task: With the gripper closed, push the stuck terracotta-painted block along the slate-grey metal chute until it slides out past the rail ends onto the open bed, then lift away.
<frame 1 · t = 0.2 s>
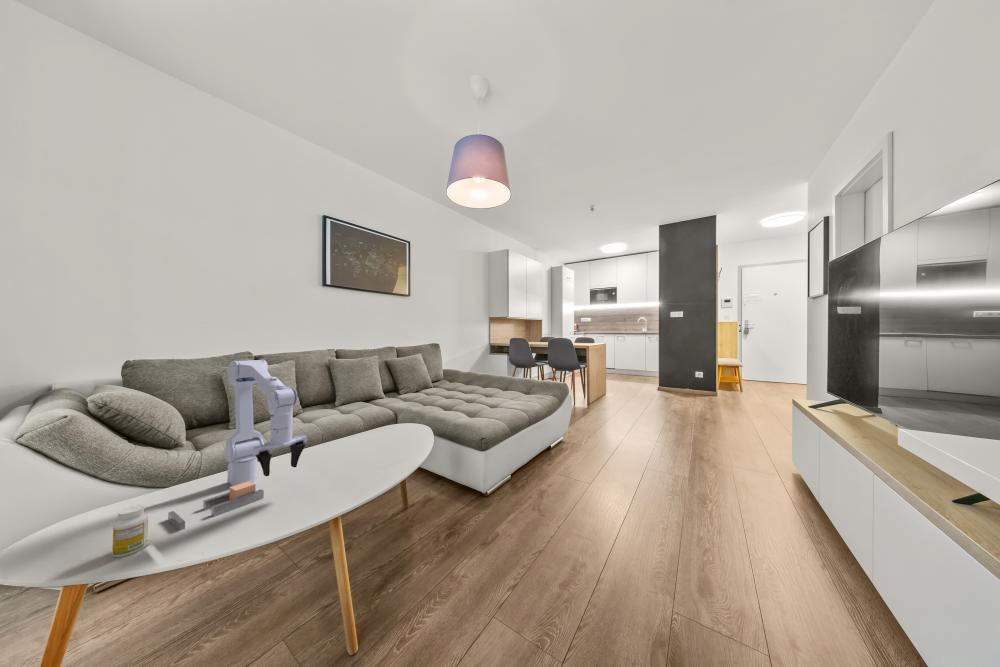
hand: (280, 470, 97), 10 cm above the table, tool pointing down, fingers open, 7 cm apart
block: (242, 493, 96), point 3 cm above the table, slide at 0.0 cm
supplement bottle: (130, 551, 74), on the table
chute: (225, 509, 92), on the table
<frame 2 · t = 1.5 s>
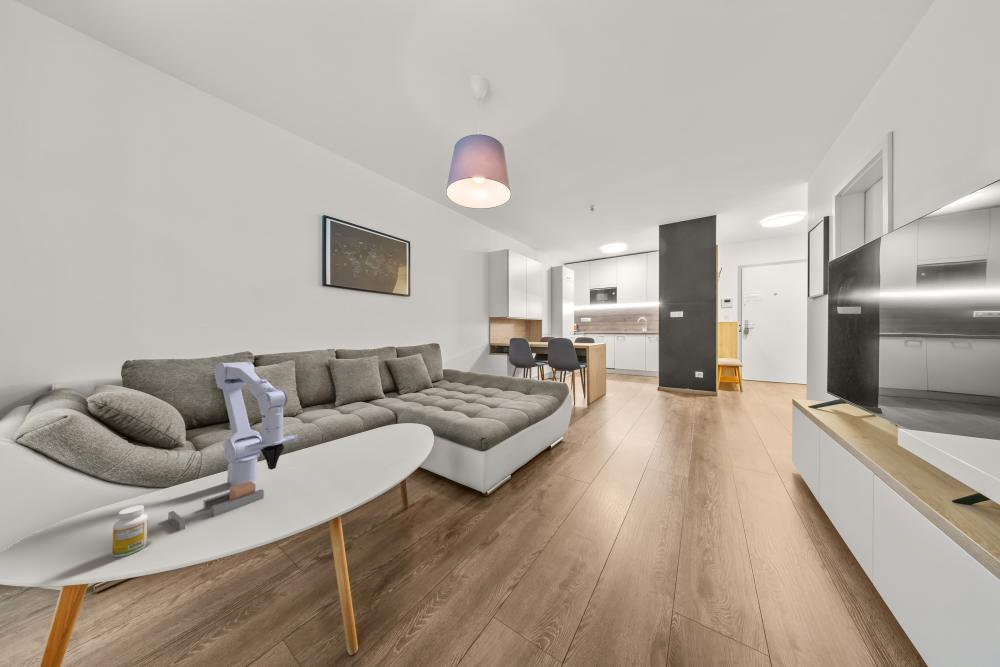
hand: (271, 468, 102), 8 cm above the table, tool pointing down, fingers closed
nothing on the table moved.
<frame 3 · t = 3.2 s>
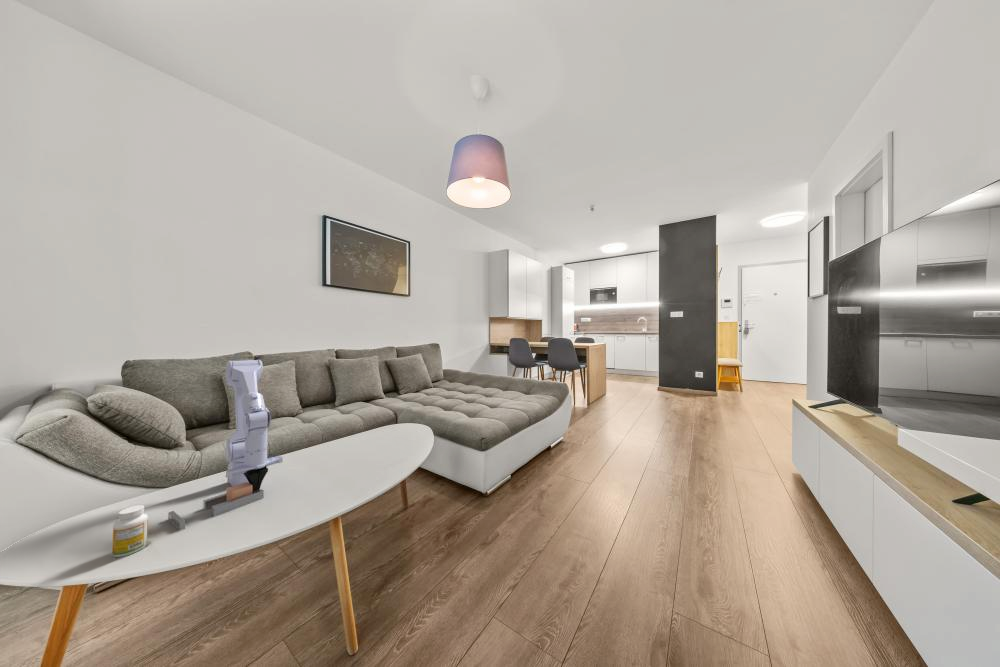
hand: (255, 492, 98), 2 cm above the table, tool pointing down, fingers closed
block: (239, 494, 95), point 3 cm above the table, slide at 0.8 cm, touching gripper
everything else where it was.
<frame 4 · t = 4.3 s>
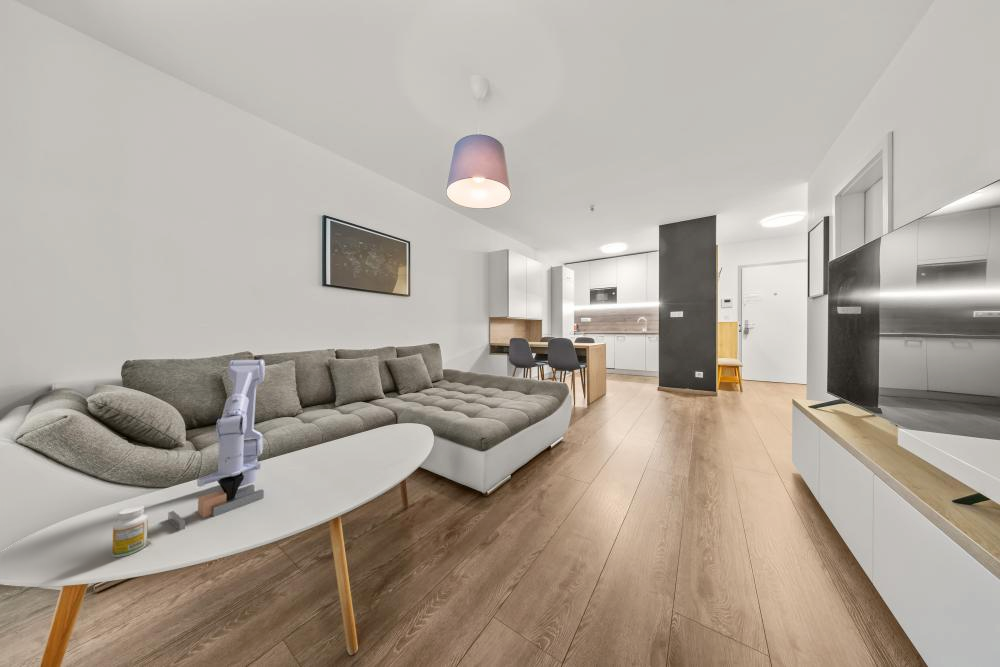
hand: (230, 501, 93), 2 cm above the table, tool pointing down, fingers closed
block: (212, 503, 89), point 3 cm above the table, slide at 7.1 cm, touching gripper
everything else where it was.
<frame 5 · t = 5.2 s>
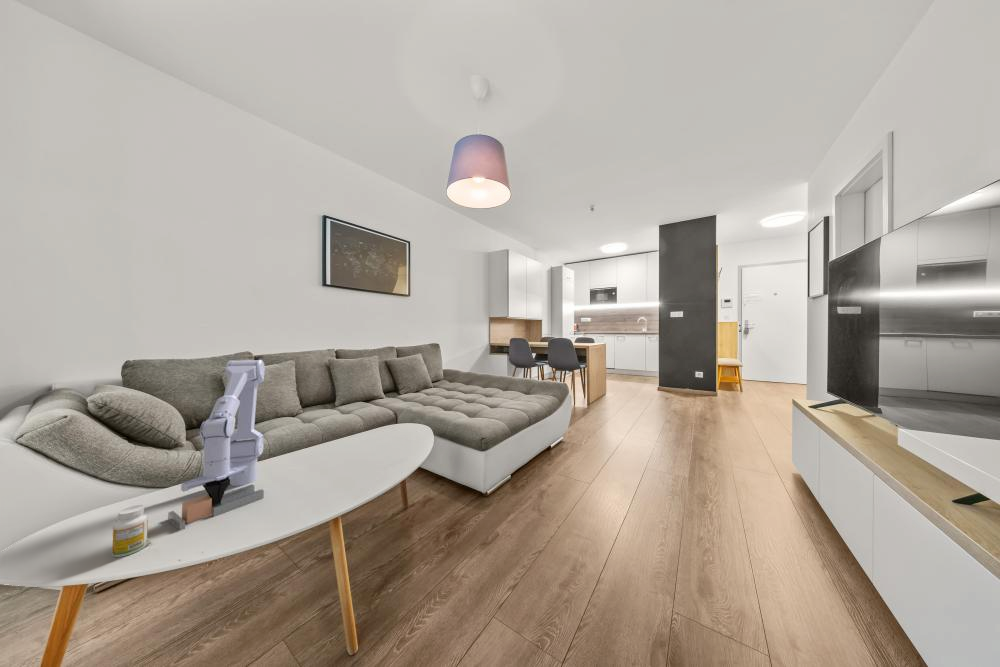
hand: (215, 506, 90), 2 cm above the table, tool pointing down, fingers closed
block: (197, 508, 87), point 3 cm above the table, slide at 10.4 cm, touching gripper
everything else where it was.
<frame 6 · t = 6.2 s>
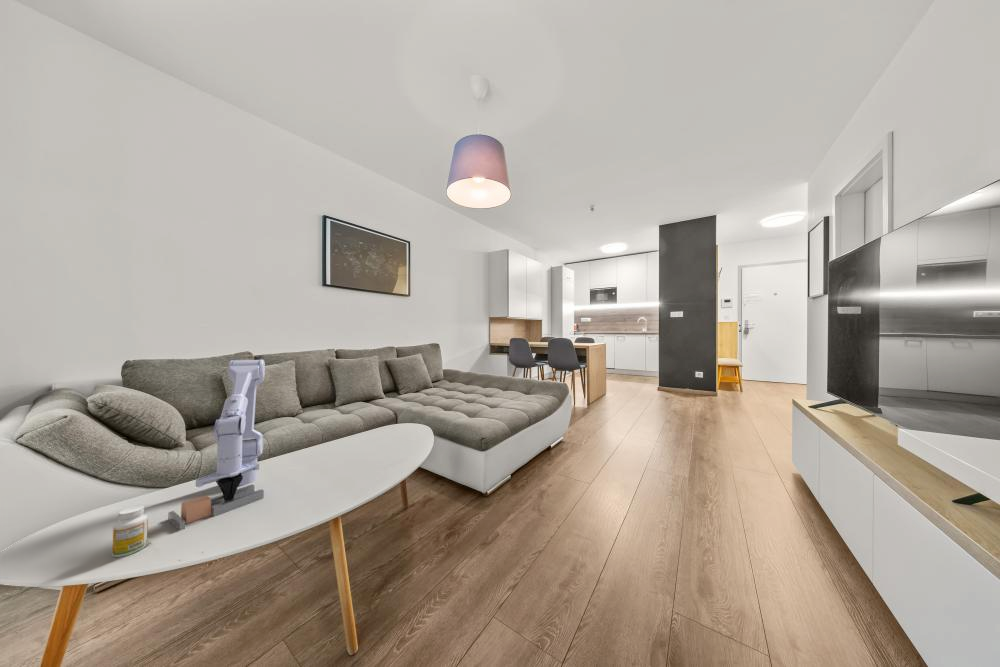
hand: (228, 501, 93), 2 cm above the table, tool pointing down, fingers closed
block: (196, 508, 86), point 3 cm above the table, slide at 10.6 cm
everything else where it was.
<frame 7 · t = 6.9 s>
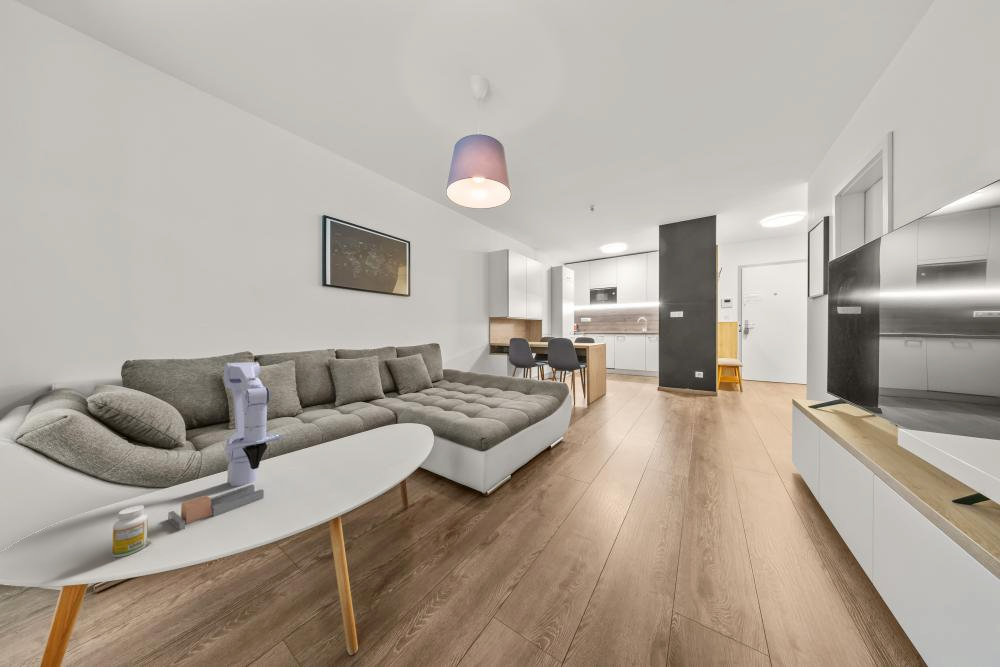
hand: (254, 468, 99), 10 cm above the table, tool pointing down, fingers closed
nothing on the table moved.
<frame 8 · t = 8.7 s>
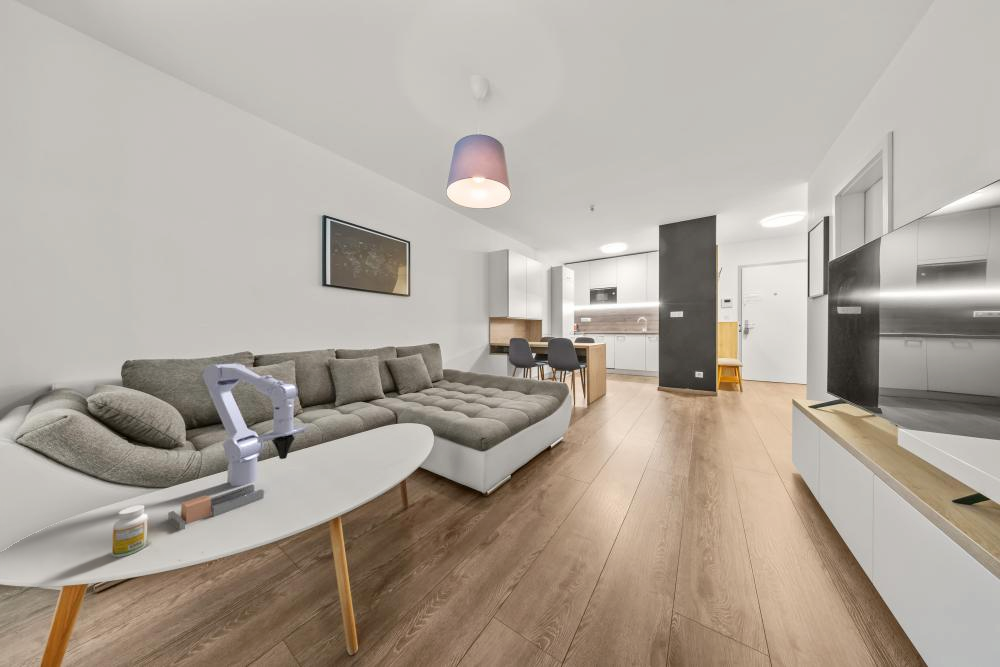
hand: (282, 458, 107), 10 cm above the table, tool pointing down, fingers closed
nothing on the table moved.
at the end: block slide at 10.6 cm; block touching nothing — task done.
